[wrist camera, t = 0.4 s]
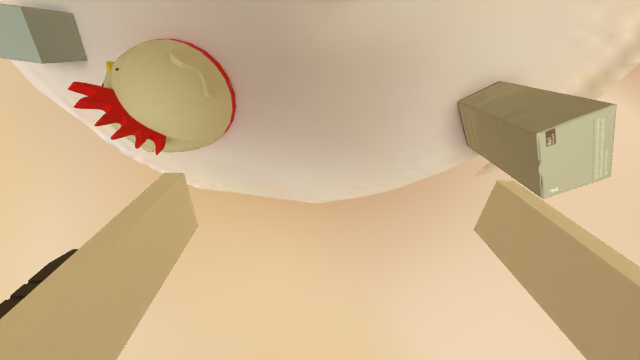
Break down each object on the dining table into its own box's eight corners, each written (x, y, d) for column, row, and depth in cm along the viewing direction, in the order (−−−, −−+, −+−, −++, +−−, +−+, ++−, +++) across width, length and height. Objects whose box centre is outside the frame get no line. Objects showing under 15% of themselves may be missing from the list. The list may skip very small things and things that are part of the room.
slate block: (27, 7, 28) (-38, -2, 23) (73, 14, 29) (20, 7, 23) (45, 54, 31) (-10, 57, 25) (87, 60, 31) (42, 63, 26)
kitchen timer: (175, 13, 29) (64, -13, 16) (255, 106, 35) (222, 143, 22) (110, 86, 33) (-23, 113, 20) (192, 159, 38) (131, 218, 25)
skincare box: (507, 128, 38) (621, 177, 24) (461, 148, 39) (543, 205, 25) (501, 76, 34) (632, 98, 20) (450, 100, 35) (540, 136, 21)
